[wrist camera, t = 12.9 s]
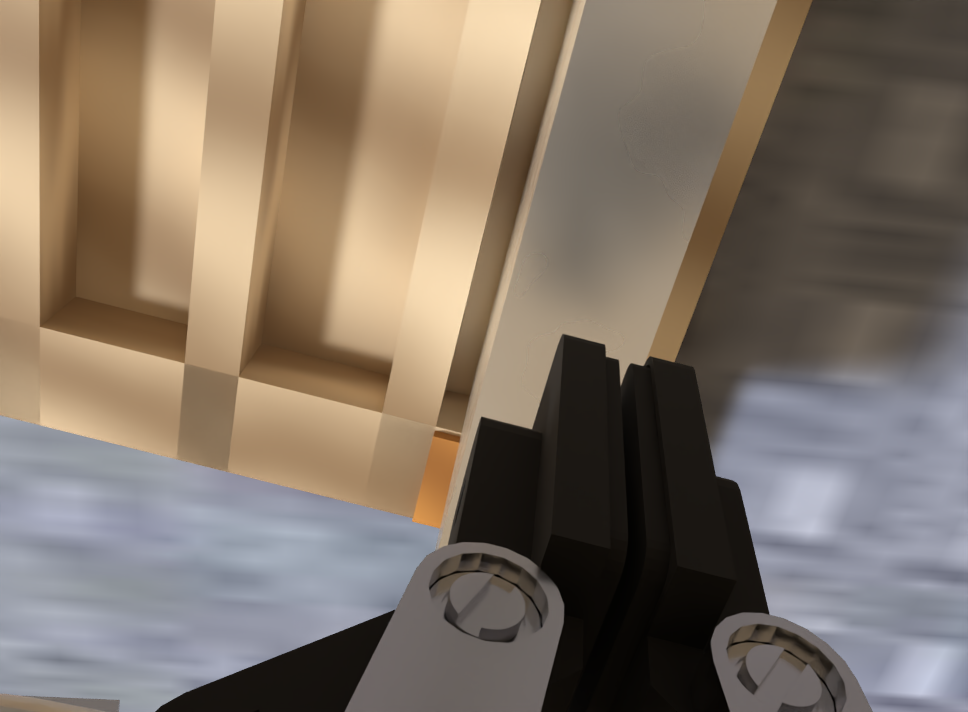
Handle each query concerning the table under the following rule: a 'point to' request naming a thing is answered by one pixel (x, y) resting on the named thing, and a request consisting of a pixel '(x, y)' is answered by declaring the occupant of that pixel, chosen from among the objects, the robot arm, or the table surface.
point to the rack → (286, 224)
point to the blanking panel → (610, 192)
